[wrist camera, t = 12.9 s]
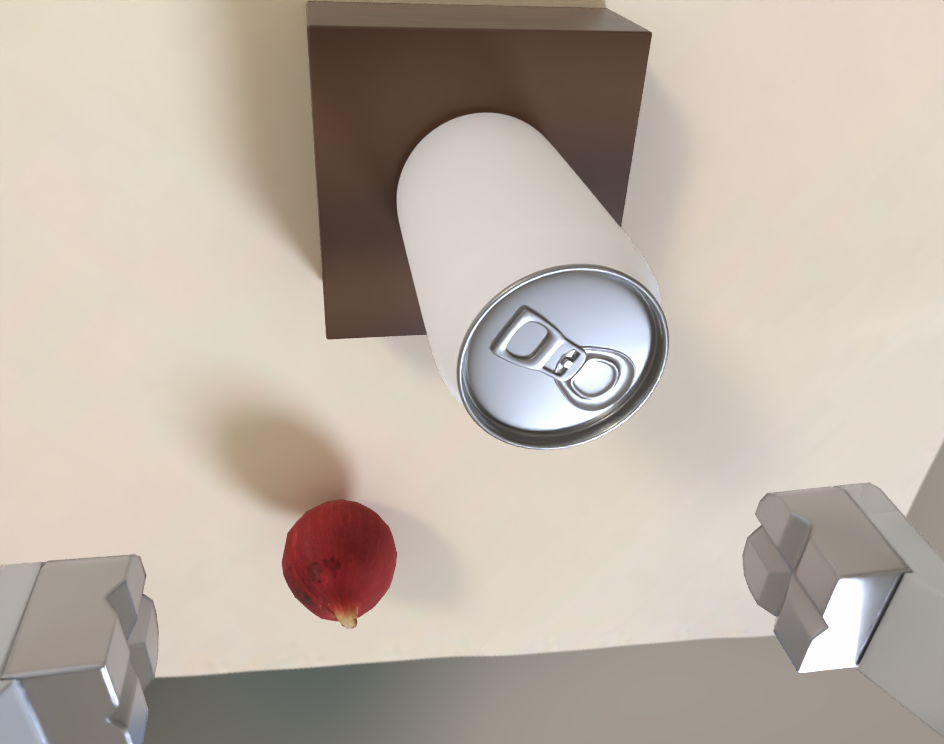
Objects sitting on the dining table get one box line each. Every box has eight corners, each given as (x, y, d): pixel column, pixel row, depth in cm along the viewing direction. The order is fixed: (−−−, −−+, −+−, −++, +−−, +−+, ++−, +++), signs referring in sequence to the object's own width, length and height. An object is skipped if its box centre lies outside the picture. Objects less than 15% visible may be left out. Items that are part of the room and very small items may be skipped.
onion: (278, 544, 45) (274, 663, 38) (290, 465, 42) (288, 580, 35) (380, 548, 46) (392, 664, 40) (398, 473, 43) (415, 584, 37)
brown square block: (306, 0, 30) (306, 25, 26) (608, 8, 32) (653, 31, 28) (323, 284, 36) (326, 340, 32) (573, 275, 38) (605, 326, 34)
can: (495, 298, 33) (578, 493, 23) (361, 220, 30) (390, 405, 20) (595, 169, 30) (735, 325, 20) (459, 71, 27) (547, 198, 18)
